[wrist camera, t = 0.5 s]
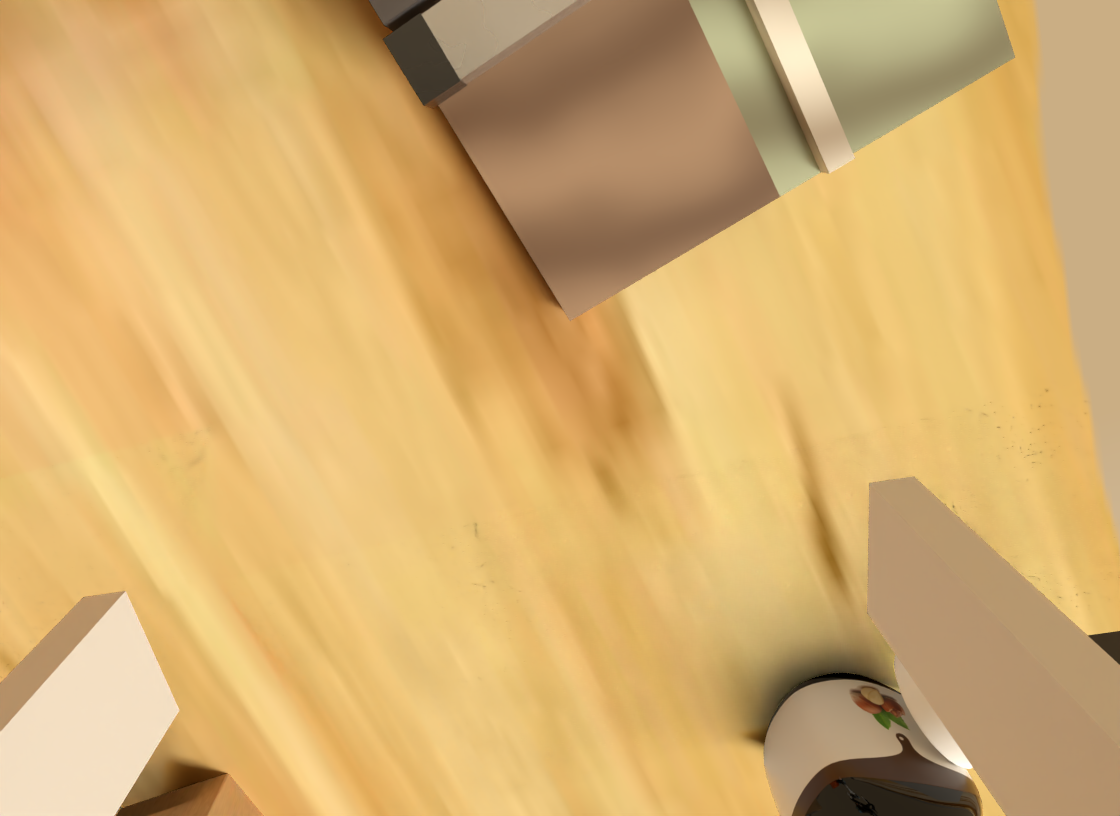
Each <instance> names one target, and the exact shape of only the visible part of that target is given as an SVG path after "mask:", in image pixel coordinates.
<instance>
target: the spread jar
mask: <svg viewBox="0 0 1120 816" xmlns="http://www.w3.org/2000/svg"><path fill="white" fill-rule="evenodd" d="M894 668H895V675H896V679H897V683H898V686H899V689H900V692H901V693H899V692H898V691H896V690H894V689H893V688H891V687H889V686H887V685H885V684H883V683H881V682H879V681H877V680H874V679H872V678H869V677H866V676H862V675H859V674H854V673H845V672H838V673H828V674H823V675H819V676H816V677H813V678H811V679H808V680H806V681H804V682H802V683H800V684H799V685H797V686H796V687H795V688H793V689H792V690H791V691H790V692H789V693H788V694H787V695H786V696H785V698H784V699H783V700H782V701H781V703H780V704H779V706H778V707H777V709H776V711H775V713H774V715H773V717H772V719H771V721H770V724H769V727H768V730H767V735H766V739H765V744H764V767H765V772H766V776H767V780H768V783H769V786H770V789H771V792H772V795H773V798H774V801H775V804H776V807H777V809H778V812H779V815H780V816H983V806H982V801H981V798H980V795H979V792H978V789H977V787H976V785H975V783H974V782H973V780H972V778H971V776H970V774H969V773H968V771H967V770H966V768H969V769H970V768H973V767H972V765H971V764H970V762H969V761H968V759H967V758H966V756H965V755H964V754H963V752H962V751H961V749H960V748H959V746H958V745H957V743H956V742H955V740H954V739H953V737H952V736H951V735H950V733H949V732H948V730H947V729H946V727H945V726H944V724H943V723H942V721H941V720H940V719H939V717H938V716H937V714H936V713H935V711H934V710H933V708H932V707H931V705H930V704H929V703H928V701H927V700H926V698H925V697H924V695H923V694H922V692H921V691H920V689H919V688H918V686H917V685H916V684H915V682H914V681H913V679H912V678H911V676H910V675H909V673H908V672H907V670H906V669H905V668H904V666H903V665H902V663H901V662H900V660H899V659H898V657H897V656H896V655H895V660H894Z"/></svg>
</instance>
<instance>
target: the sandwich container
mask: <svg viewBox="0 0 1120 816" xmlns="http://www.w3.org/2000/svg"><path fill="white" fill-rule="evenodd" d="M116 816H263V815H262V813H261V812H260V811H259V810H258V809H257V807H256V806H255V805H254V804H253V803H252V801H251V800H250V799H249V798H248V797H247V795H246V794H245V793H244V792H243V791H242V789H241V788H240V787H239V786H238V785H237V783H236V782H235V781H234V780H233V778H232V777H231V776H230V775H229V774H228V773H226V774H223V775H220V776H217V777H214V778H211V779H208V780H205V781H202V782H199V783H196V784H193V785H190V786H187V787H184V788H181V789H178V790H175V791H172V792H169V793H166V794H163V795H160V796H157V797H154V798H151V799H148V800H145V801H142V802H139V803H136V804H133V805H130V806H127V807H124V808H122V809H120V810H119V812H118V814H117V815H116Z"/></svg>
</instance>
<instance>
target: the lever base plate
mask: <svg viewBox="0 0 1120 816" xmlns="http://www.w3.org/2000/svg"><path fill="white" fill-rule="evenodd" d="M440 1H441V0H369V2H370V3H371V5H372V7H373V8H374V10H375V12H376V13H377V15H378V16H379V18H380V20H381V21H382V23H383V25H385V26H386V27H388V28H389V29H390V30H392V31H393V32H394V31H395V30H397V29H398V28H399V27H401V26H402V25H404V24H405V23H407V22H408V21H409V20H411V19H412V18H414V17H415V16H417V15H418V14H419V13H421V14H423V13H424V12H426V11H427V10H428V9H430V8H431V7H433V6H434V5H436V4H437V3H438V2H440ZM1013 58H1015V55H1014V52H1013V49H1012V46H1011V43H1010V40H1009V37H1008V33H1007V30H1006V27H1005V24H1004V21H1003V18H1002V15H1001V12H1000V9H999V6H998V3H997V0H591V1H589V2H588V3H586V4H585V5H583V6H582V7H580V8H579V9H578V10H576V11H575V12H573V13H572V14H570V15H569V16H567V17H566V18H564V19H563V20H561V21H560V22H558V23H557V24H555V25H554V26H552V27H551V28H549V29H548V30H546V31H545V32H543V33H542V34H540V35H539V36H538V37H536V38H535V39H533V40H532V41H530V42H529V43H527V44H526V45H524V46H523V47H521V48H520V49H518V50H517V51H515V52H514V53H512V54H511V55H509V56H508V57H506V58H505V59H503V60H502V61H500V62H499V63H497V64H496V65H495V66H493V67H492V68H490V69H489V70H487V71H486V72H484V73H483V74H481V75H480V76H478V77H477V78H475V79H474V80H472V81H471V82H469V83H468V84H467V86H466V87H465V88H463V89H462V90H460V91H459V92H457V93H456V94H454V95H453V96H451V97H450V98H448V99H447V100H445V101H444V102H442V103H441V104H439V107H440V109H441V110H442V112H443V114H444V115H445V117H446V119H447V120H448V122H449V124H450V125H451V127H452V128H453V130H454V132H455V133H456V135H457V137H458V138H459V140H460V142H461V143H462V145H463V146H464V148H465V150H466V151H467V153H468V155H469V156H470V158H471V160H472V161H473V163H474V164H475V166H476V168H477V169H478V171H479V173H480V174H481V176H482V178H483V179H484V181H485V182H486V184H487V186H488V187H489V189H490V191H491V192H492V194H493V196H494V197H495V199H496V200H497V202H498V204H499V205H500V207H501V209H502V210H503V212H504V214H505V215H506V217H507V218H508V220H509V222H510V223H511V225H512V227H513V228H514V230H515V232H516V233H517V235H518V236H519V238H520V240H521V241H522V243H523V245H524V246H525V248H526V250H527V251H528V253H529V254H530V256H531V258H532V259H533V261H534V263H535V264H536V266H537V268H538V269H539V271H540V272H541V274H542V276H543V277H544V279H545V281H546V282H547V284H548V286H549V287H550V289H551V290H552V292H553V294H554V295H555V297H556V299H557V300H558V302H559V304H560V305H561V307H562V308H563V310H564V312H565V313H566V315H567V317H568V318H569V320H570V321H571V320H573V319H574V318H576V317H578V316H579V315H581V314H583V313H584V312H586V311H588V310H589V309H591V308H593V307H594V306H596V305H598V304H600V303H601V302H603V301H605V300H606V299H608V298H610V297H611V296H613V295H615V294H616V293H618V292H620V291H621V290H623V289H625V288H627V287H628V286H630V285H632V284H633V283H635V282H637V281H638V280H640V279H642V278H643V277H645V276H647V275H648V274H650V273H652V272H654V271H655V270H657V269H659V268H660V267H662V266H664V265H665V264H667V263H669V262H670V261H672V260H674V259H675V258H677V257H679V256H681V255H682V254H684V253H686V252H687V251H689V250H691V249H692V248H694V247H696V246H697V245H699V244H701V243H703V242H704V241H706V240H708V239H709V238H711V237H713V236H714V235H716V234H718V233H719V232H721V231H723V230H724V229H726V228H728V227H730V226H731V225H733V224H735V223H736V222H738V221H740V220H741V219H743V218H745V217H746V216H748V215H750V214H751V213H753V212H755V211H757V210H758V209H760V208H762V207H763V206H765V205H767V204H768V203H770V202H772V201H773V200H775V199H777V198H778V197H780V196H782V195H784V194H785V193H787V192H789V191H790V190H792V189H794V188H795V187H797V186H799V185H800V184H802V183H804V182H805V181H807V180H809V179H811V178H812V177H814V176H816V175H817V174H819V173H821V172H822V173H831V172H833V171H834V170H836V169H838V168H840V167H841V166H843V165H845V164H846V163H848V162H850V161H851V160H853V159H855V157H854V154H853V153H854V152H856V151H858V150H860V149H861V148H863V147H865V146H866V145H868V144H870V143H871V142H873V141H875V140H876V139H878V138H880V137H881V136H883V135H885V134H887V133H888V132H890V131H892V130H893V129H895V128H897V127H898V126H900V125H902V124H903V123H905V122H907V121H908V120H910V119H912V118H914V117H915V116H917V115H919V114H920V113H922V112H924V111H925V110H927V109H929V108H930V107H932V106H934V105H935V104H937V103H939V102H941V101H942V100H944V99H946V98H947V97H949V96H951V95H952V94H954V93H956V92H957V91H959V90H961V89H963V88H964V87H966V86H968V85H969V84H971V83H973V82H974V81H976V80H978V79H979V78H981V77H983V76H984V75H986V74H988V73H990V72H991V71H993V70H995V69H996V68H998V67H1000V66H1001V65H1003V64H1005V63H1006V62H1008V61H1010V60H1011V59H1013Z"/></svg>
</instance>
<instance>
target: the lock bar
mask: <svg viewBox="0 0 1120 816" xmlns="http://www.w3.org/2000/svg"><path fill="white" fill-rule="evenodd" d="M589 1H591V0H441V1H440V2H438V3H437V4H436V5H434V6H433V7H431V8H430V9H428V10H427V11H426V12H424V13H423V14H421V13H419V14H418V15H417V16H415V17H414V18H412V19H411V20H409V21H408V22H407V23H405V24H404V25H402V26H401V27H399V28H398V29H397V30H395V31H394V32H392V33H391V34H390V35H388V36H387V37H385V38H384V39H383V41H384V42H385V44H386V45H387V47H388V49H389V50H390V52H391V54H392V55H393V57H394V58H395V60H396V62H397V63H398V65H399V66H400V68H401V70H402V71H403V73H404V75H405V76H406V78H407V79H408V81H409V83H410V84H411V86H412V88H413V89H414V91H415V92H416V94H417V96H418V97H419V99H420V100H421V102H422V104H423V105H424V106H426V107H430V108H435V107H436V106H438V105H439V104H441V103H442V102H444V101H445V100H447V99H448V98H450V97H451V96H453V95H454V94H456V93H457V92H459V91H460V90H462V89H463V88H465V87H466V86H467V84H468V83H469V82H471V81H472V80H474V79H475V78H477V77H478V76H480V75H481V74H483V73H484V72H486V71H487V70H489V69H490V68H492V67H493V66H495V65H496V64H497V63H499V62H500V61H502V60H503V59H505V58H506V57H508V56H509V55H511V54H512V53H514V52H515V51H517V50H518V49H520V48H521V47H523V46H524V45H526V44H527V43H529V42H530V41H532V40H533V39H535V38H536V37H538V36H539V35H540V34H542V33H543V32H545V31H546V30H548V29H549V28H551V27H552V26H554V25H555V24H557V23H558V22H560V21H561V20H563V19H564V18H566V17H567V16H569V15H570V14H572V13H573V12H575V11H576V10H578V9H579V8H580V7H582V6H583V5H585V4H586V3H588V2H589Z"/></svg>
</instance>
